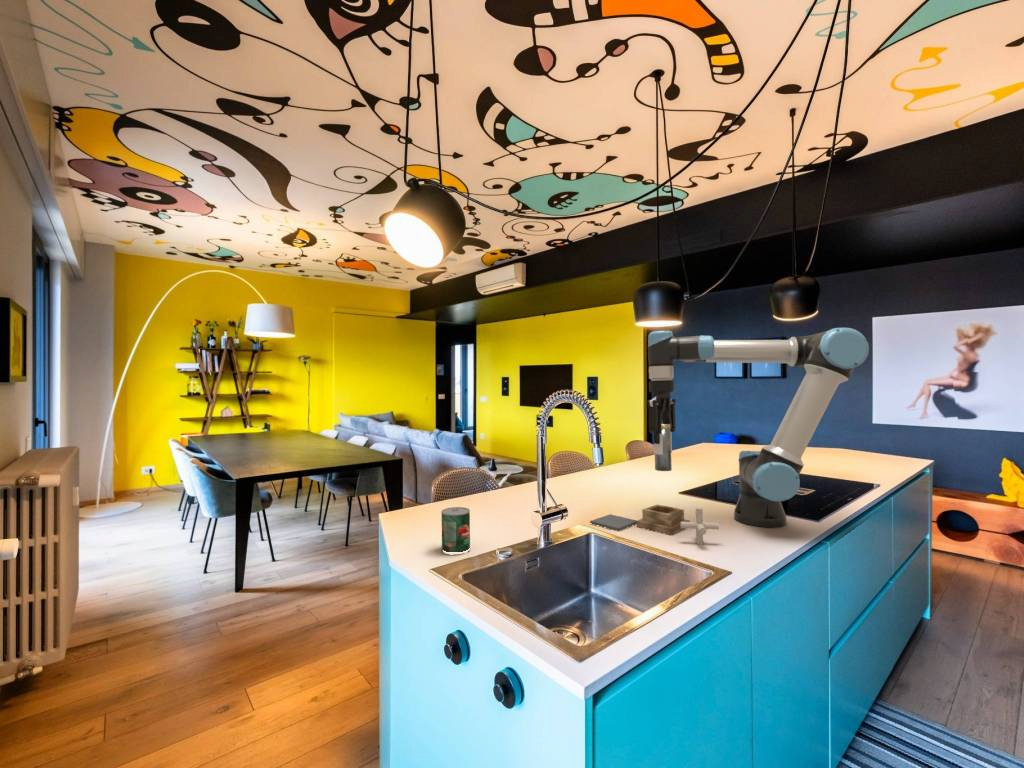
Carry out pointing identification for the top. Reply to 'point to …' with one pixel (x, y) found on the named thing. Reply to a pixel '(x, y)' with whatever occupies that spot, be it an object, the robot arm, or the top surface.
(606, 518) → the pad
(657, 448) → the robot arm
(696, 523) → the pipe connector
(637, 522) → the block
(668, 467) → the peg
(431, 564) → the top surface
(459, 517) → the canned tomato
